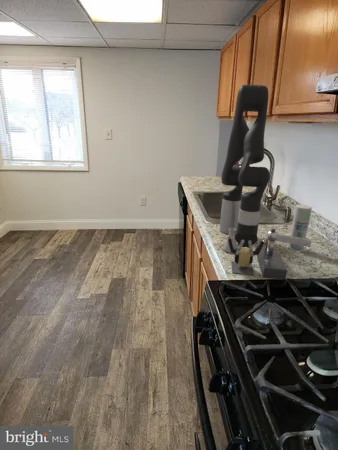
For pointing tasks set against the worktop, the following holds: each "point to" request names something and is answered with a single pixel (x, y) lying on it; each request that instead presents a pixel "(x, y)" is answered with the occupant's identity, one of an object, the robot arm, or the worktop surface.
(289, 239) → the lever
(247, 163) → the robot arm
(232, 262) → the mat
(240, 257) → the tan upright block
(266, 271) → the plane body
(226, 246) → the flask
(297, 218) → the spray can
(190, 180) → the worktop surface
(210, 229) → the worktop surface
